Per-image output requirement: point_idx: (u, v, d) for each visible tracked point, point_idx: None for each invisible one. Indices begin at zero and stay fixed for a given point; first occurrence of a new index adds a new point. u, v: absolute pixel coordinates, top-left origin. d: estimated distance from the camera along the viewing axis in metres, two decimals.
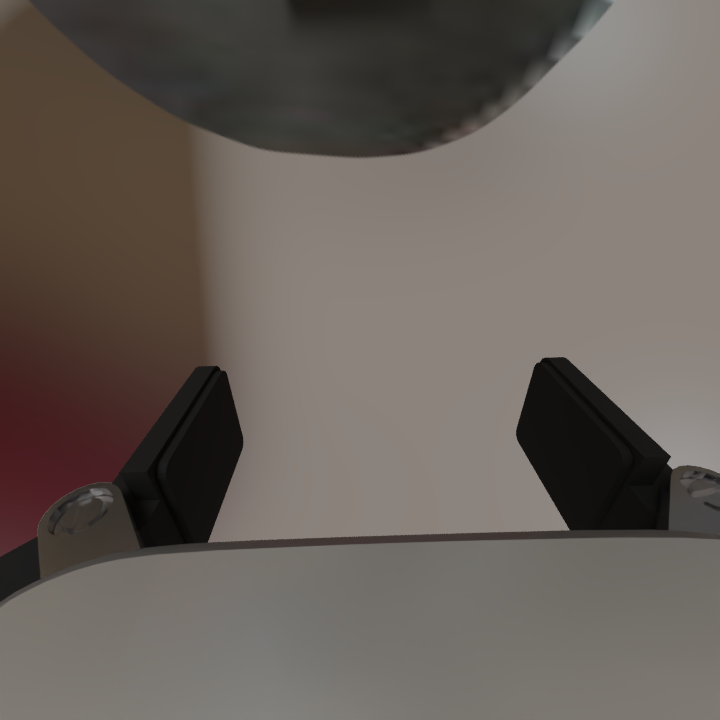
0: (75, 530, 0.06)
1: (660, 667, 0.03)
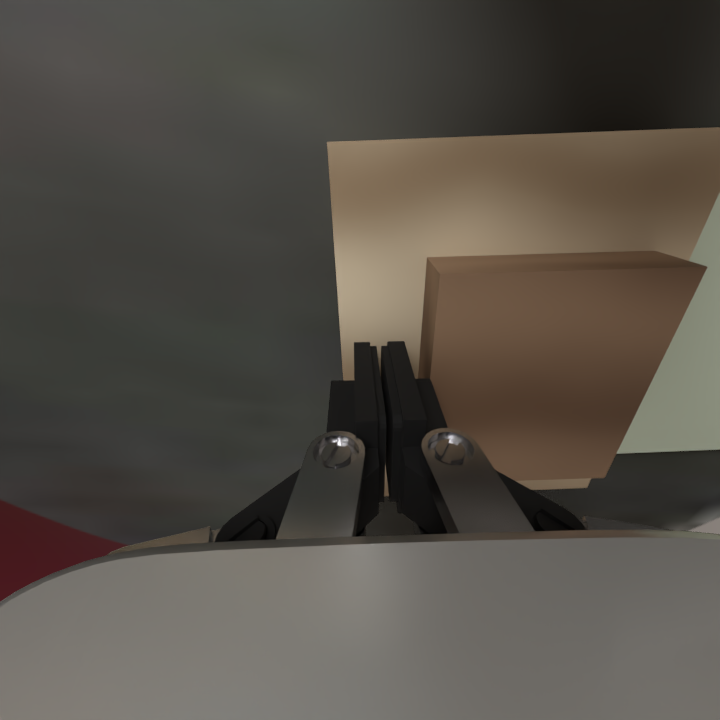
0: (326, 463, 0.07)
1: (660, 667, 0.03)
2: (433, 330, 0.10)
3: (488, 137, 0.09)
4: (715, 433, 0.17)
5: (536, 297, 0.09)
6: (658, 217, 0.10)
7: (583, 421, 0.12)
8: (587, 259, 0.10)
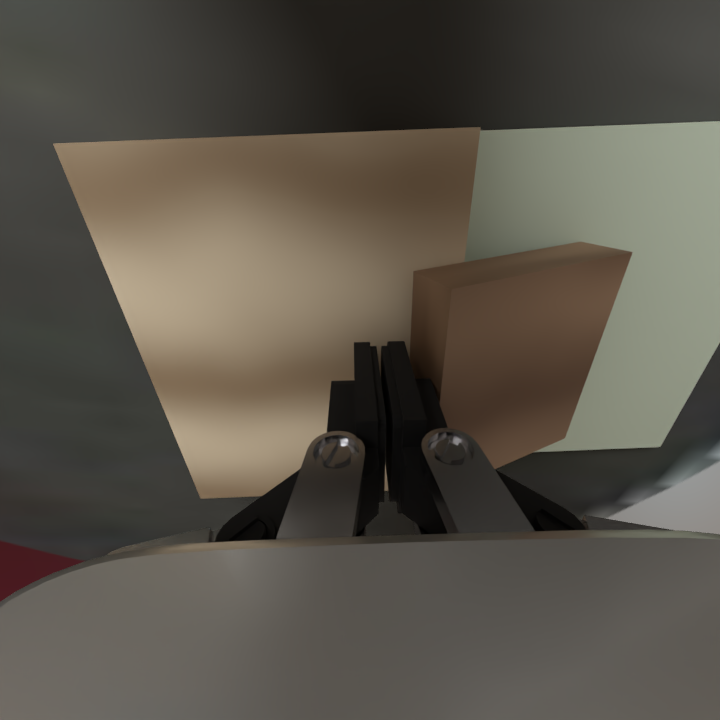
0: (326, 463, 0.07)
1: (660, 667, 0.03)
2: (443, 345, 0.10)
3: (217, 138, 0.09)
4: (575, 434, 0.17)
5: (526, 297, 0.10)
6: (418, 219, 0.10)
7: (553, 396, 0.13)
8: (547, 255, 0.11)
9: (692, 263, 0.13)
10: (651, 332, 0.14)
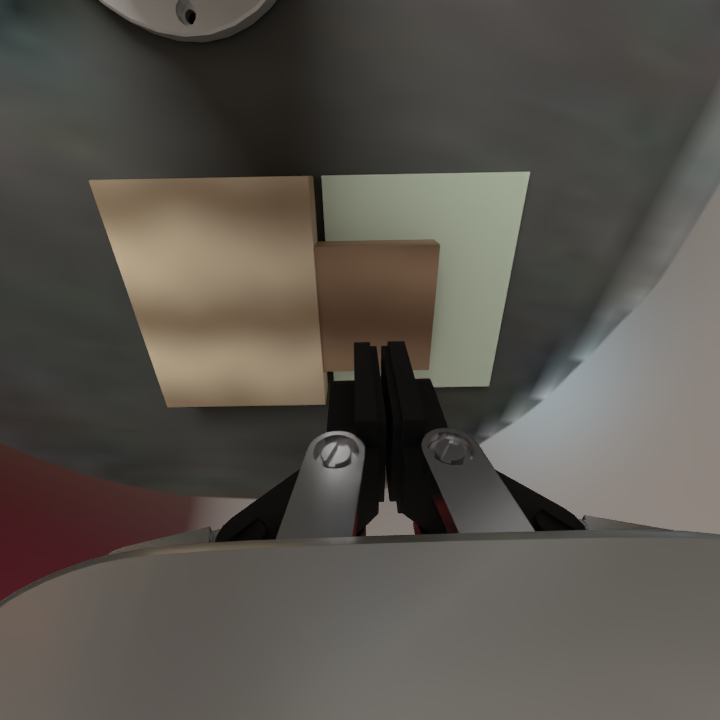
0: (326, 463, 0.07)
1: (660, 667, 0.03)
2: (316, 276, 0.20)
3: (172, 179, 0.17)
4: (426, 374, 0.25)
5: (362, 259, 0.19)
6: (283, 222, 0.18)
7: (405, 331, 0.21)
8: (392, 242, 0.20)
9: (468, 254, 0.21)
10: (456, 299, 0.22)
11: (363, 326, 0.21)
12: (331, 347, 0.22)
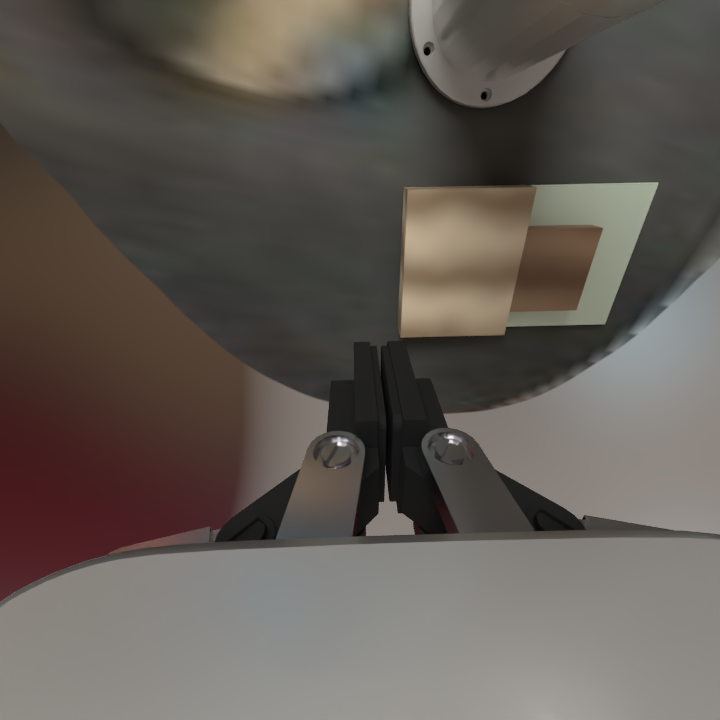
0: (326, 463, 0.07)
1: (660, 667, 0.03)
2: None
3: (457, 189, 0.29)
4: (565, 315, 0.38)
5: (553, 237, 0.32)
6: (514, 214, 0.30)
7: (568, 283, 0.34)
8: (569, 226, 0.32)
9: (610, 234, 0.33)
10: (597, 264, 0.35)
11: (542, 280, 0.34)
12: (518, 294, 0.34)
